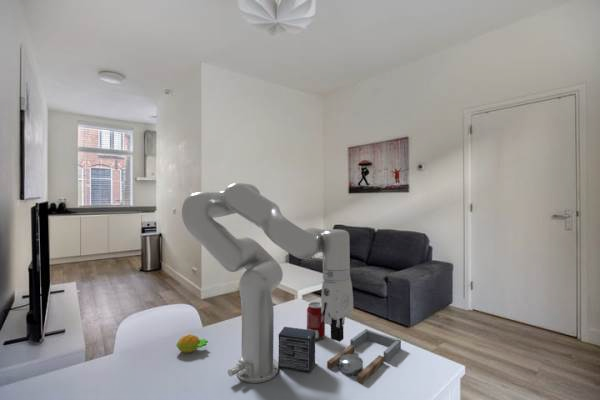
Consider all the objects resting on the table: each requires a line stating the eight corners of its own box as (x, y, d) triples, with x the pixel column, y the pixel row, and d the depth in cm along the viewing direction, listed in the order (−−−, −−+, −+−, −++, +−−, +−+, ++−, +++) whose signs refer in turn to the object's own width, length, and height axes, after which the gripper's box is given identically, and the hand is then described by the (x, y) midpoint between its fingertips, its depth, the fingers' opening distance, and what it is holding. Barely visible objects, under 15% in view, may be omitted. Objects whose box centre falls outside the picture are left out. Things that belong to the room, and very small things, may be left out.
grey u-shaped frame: (387, 362, 95) (387, 353, 95) (350, 348, 104) (350, 339, 104) (400, 348, 104) (400, 340, 104) (365, 336, 112) (365, 328, 112)
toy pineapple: (179, 346, 104) (180, 331, 104) (209, 345, 105) (209, 330, 105) (173, 357, 97) (173, 340, 97) (204, 356, 98) (205, 339, 98)
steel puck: (355, 380, 86) (356, 369, 86) (334, 370, 90) (335, 361, 90) (366, 369, 92) (366, 359, 92) (346, 361, 96) (346, 351, 96)
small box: (315, 362, 95) (316, 329, 95) (311, 374, 89) (311, 339, 88) (284, 357, 98) (284, 325, 98) (277, 368, 91) (277, 334, 91)
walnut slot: (362, 384, 84) (362, 377, 84) (327, 367, 92) (327, 361, 92) (383, 363, 95) (383, 356, 95) (350, 350, 102) (350, 344, 102)
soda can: (318, 342, 107) (318, 309, 107) (303, 337, 111) (303, 305, 111) (328, 335, 113) (328, 304, 113) (313, 330, 117) (313, 300, 117)
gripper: (332, 282, 75) (333, 354, 76) (361, 270, 87) (362, 333, 87) (309, 277, 80) (310, 345, 80) (339, 267, 92) (340, 326, 92)
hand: (337, 339), depth 84 cm, fingers closed
